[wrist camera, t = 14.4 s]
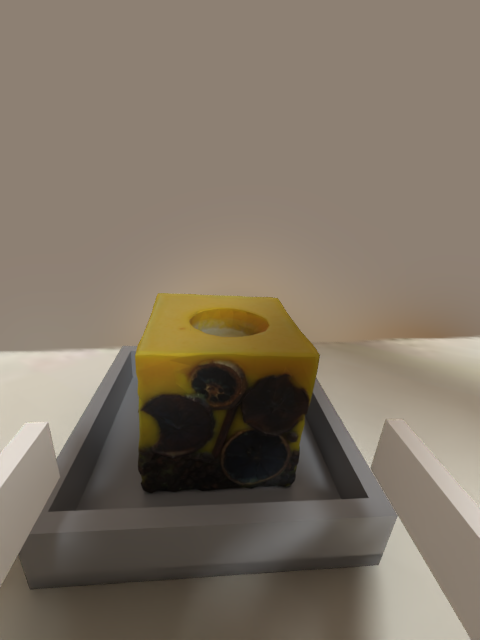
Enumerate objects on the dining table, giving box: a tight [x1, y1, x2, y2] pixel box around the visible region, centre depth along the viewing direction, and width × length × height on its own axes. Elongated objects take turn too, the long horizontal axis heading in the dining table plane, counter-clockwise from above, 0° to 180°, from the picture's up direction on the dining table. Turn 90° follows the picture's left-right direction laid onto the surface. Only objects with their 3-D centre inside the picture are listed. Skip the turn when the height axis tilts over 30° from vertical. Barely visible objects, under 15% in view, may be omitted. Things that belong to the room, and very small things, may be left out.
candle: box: [135, 293, 320, 493], centre depth 22 cm, size 10×10×10 cm
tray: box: [18, 346, 398, 589], centre depth 23 cm, size 18×18×4 cm
